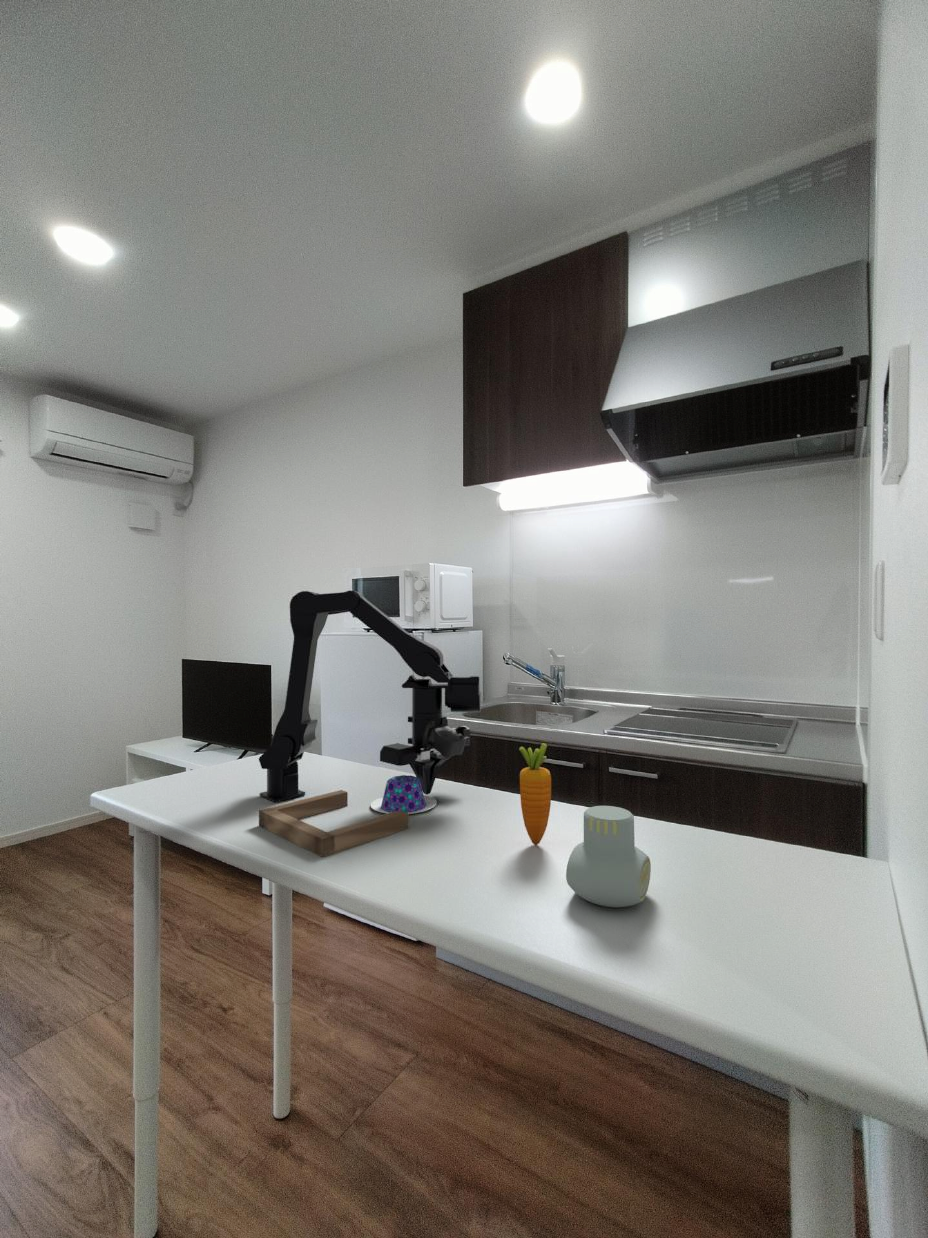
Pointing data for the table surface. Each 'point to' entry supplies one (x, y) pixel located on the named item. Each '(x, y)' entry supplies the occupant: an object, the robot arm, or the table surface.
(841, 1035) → the table surface
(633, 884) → the air freshener
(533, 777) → the carrot
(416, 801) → the pudding
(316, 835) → the holder
